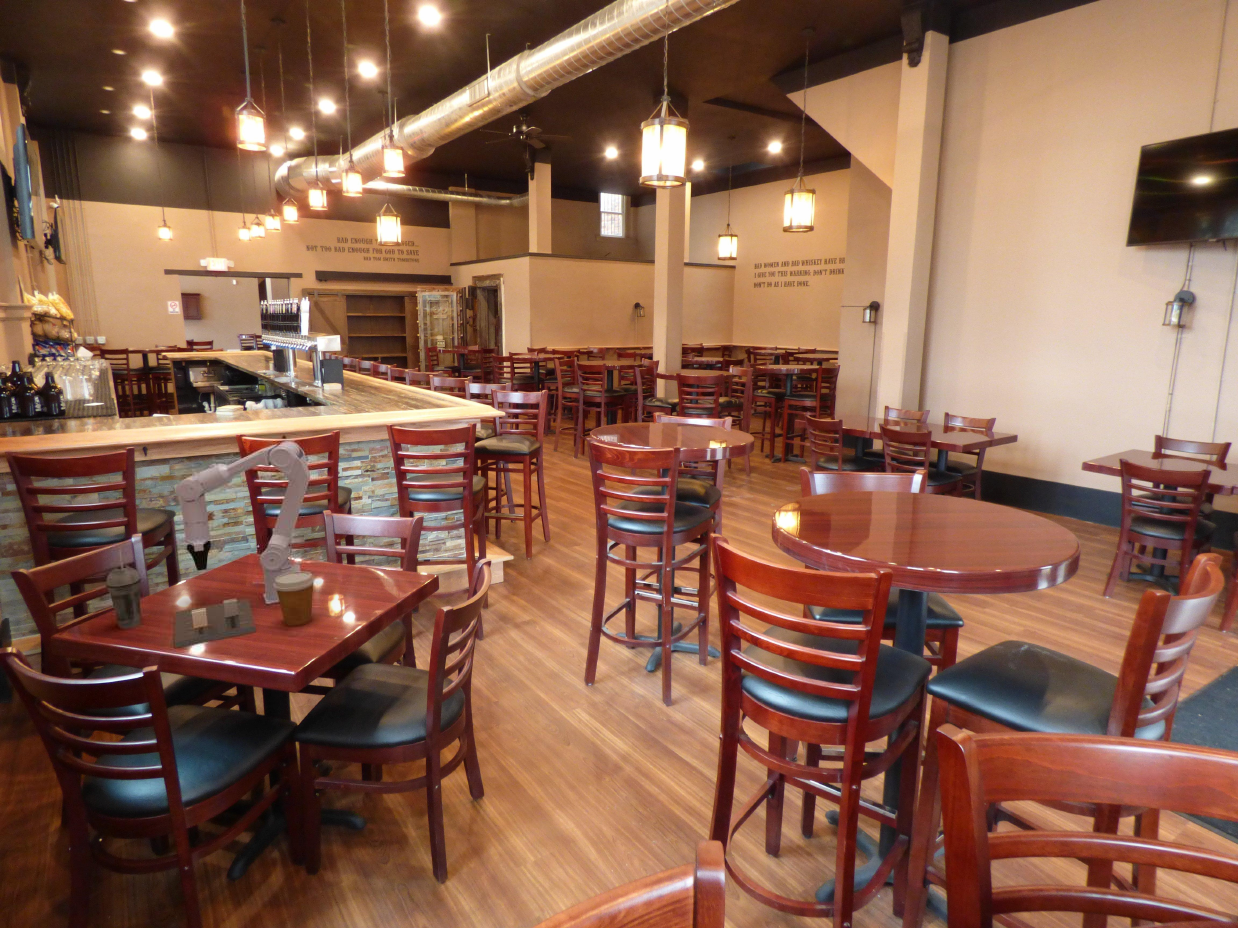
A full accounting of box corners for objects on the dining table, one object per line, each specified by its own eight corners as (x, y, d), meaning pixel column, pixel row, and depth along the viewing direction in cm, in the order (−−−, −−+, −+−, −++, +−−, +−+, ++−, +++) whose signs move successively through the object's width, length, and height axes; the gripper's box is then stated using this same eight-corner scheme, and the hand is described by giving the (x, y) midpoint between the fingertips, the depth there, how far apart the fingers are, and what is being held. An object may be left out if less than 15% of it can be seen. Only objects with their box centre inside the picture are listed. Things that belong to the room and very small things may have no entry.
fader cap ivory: (207, 622, 176) (205, 607, 176) (207, 625, 175) (205, 609, 174) (193, 625, 175) (191, 610, 174) (193, 627, 173) (191, 612, 173)
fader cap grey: (238, 612, 182) (236, 597, 182) (238, 614, 181) (236, 599, 180) (225, 615, 181) (223, 600, 180) (225, 617, 180) (223, 602, 179)
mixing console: (248, 603, 192) (248, 598, 192) (255, 631, 175) (254, 625, 174) (176, 617, 184) (175, 611, 183) (175, 648, 166) (174, 641, 166)
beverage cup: (110, 633, 174) (98, 556, 170) (115, 622, 181) (103, 548, 177) (145, 627, 178) (134, 552, 174) (148, 617, 184) (138, 544, 180)
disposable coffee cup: (326, 616, 184) (322, 572, 182) (298, 631, 175) (294, 585, 173) (297, 611, 187) (293, 568, 185) (269, 625, 178) (264, 581, 176)
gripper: (178, 517, 192) (184, 564, 195) (178, 530, 180) (184, 580, 183) (208, 513, 196) (213, 559, 198) (209, 525, 184) (215, 575, 186)
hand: (201, 569), depth 191 cm, fingers closed
